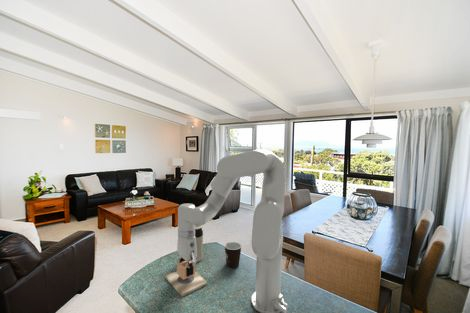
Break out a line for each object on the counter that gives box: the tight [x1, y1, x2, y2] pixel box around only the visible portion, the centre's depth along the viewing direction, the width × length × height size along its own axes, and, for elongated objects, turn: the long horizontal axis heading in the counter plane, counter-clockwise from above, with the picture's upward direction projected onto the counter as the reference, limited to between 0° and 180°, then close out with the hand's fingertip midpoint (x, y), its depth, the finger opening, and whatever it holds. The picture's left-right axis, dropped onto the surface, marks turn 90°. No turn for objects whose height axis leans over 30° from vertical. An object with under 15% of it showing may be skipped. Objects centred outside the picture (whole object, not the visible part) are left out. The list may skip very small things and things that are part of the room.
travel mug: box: [190, 225, 204, 263], centre depth 113 cm, size 8×8×18 cm
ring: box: [176, 260, 197, 280], centre depth 94 cm, size 6×6×4 cm
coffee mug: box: [224, 241, 242, 269], centre depth 110 cm, size 12×9×10 cm
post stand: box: [165, 264, 208, 298], centre depth 94 cm, size 16×12×7 cm
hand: (186, 271), depth 94 cm, fingers closed on ring, 5 cm apart
